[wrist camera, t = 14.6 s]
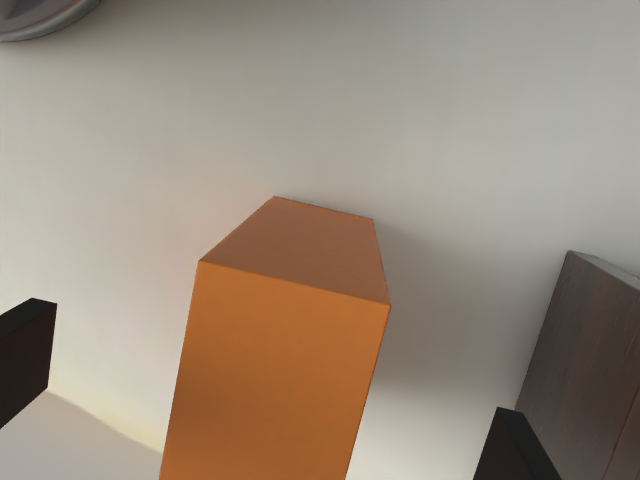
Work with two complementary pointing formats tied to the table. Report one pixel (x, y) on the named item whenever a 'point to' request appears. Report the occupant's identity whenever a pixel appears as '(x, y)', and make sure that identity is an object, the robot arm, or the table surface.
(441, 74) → the table surface
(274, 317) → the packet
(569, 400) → the wooden bench
